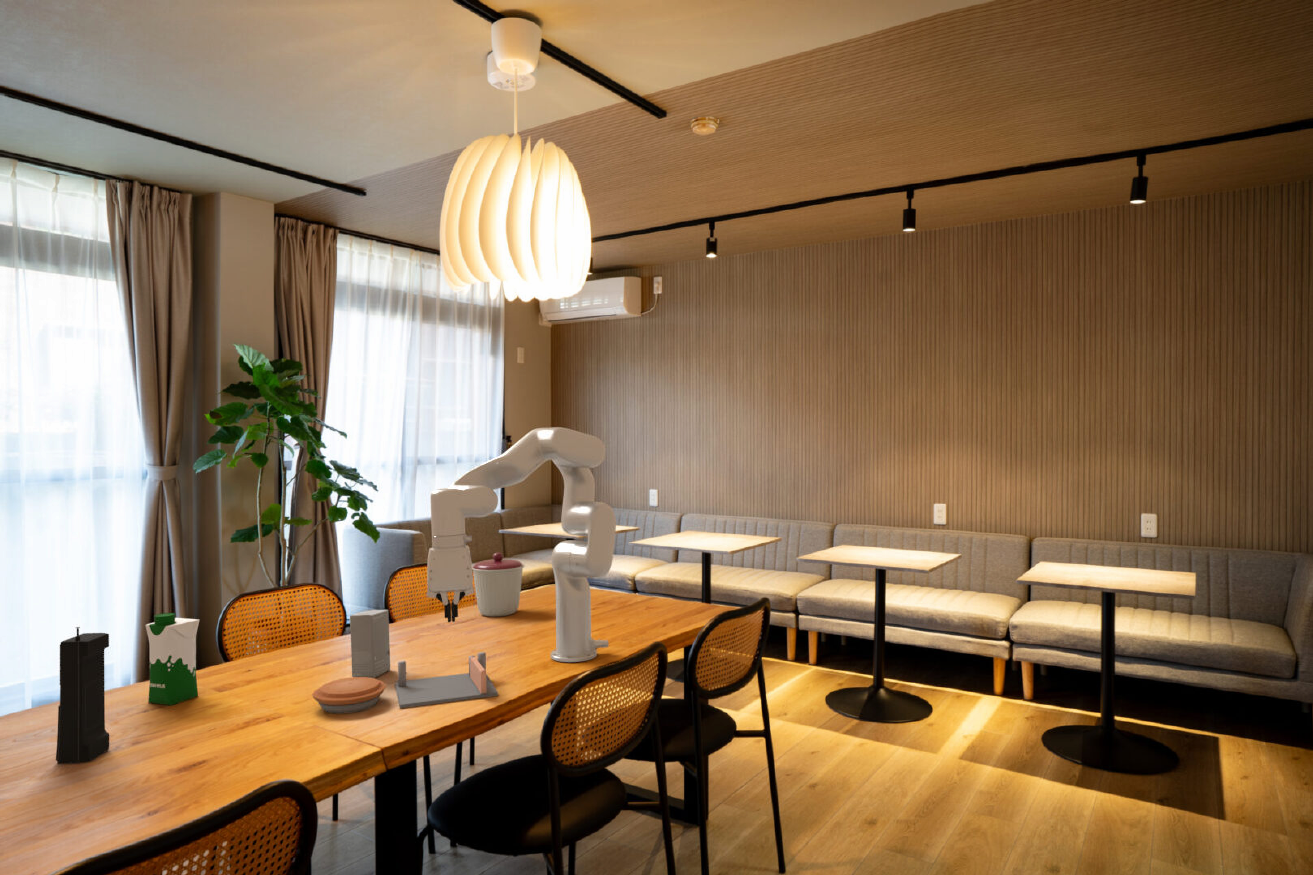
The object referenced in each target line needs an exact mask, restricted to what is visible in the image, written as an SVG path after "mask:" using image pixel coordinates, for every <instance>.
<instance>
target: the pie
mask: <svg viewBox="0 0 1313 875" xmlns="http://www.w3.org/2000/svg"><path fill="white" fill-rule="evenodd" d="M386 689H387V685H386V683H385V682H383V681H382V680H379V679H377V678H370V677H347V678H346V677H345V678H340V679H336V680H333V681H329V682H327V683H324V684H323V685H321V686H320V687H318V688H317V689H315V690H314V691H313V692H312V694H311V695H312V698H313V699H314V700H315V701H316V702H318V705H319V706H320V707H321V709H322V710H323V711H324V712H326V713H330V714H351V713H356V712H361V710H362V711H365V710H367V709H370V708H372V707H374V706H375V705H376V704H377V703H378V701H379V699H380V697H381V695H382V694H383V693H384V691H385V690H386Z"/></svg>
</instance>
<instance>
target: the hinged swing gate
mask: <svg viewBox="0 0 1313 875" xmlns="http://www.w3.org/2000/svg"><path fill="white" fill-rule="evenodd" d="M477 660H478V662H479V663H480V664H481V666H482V667H483V668H484V669H486V670H487V653H486V652H483V651H481V652H478V653H477ZM394 687H395V691H396V698H397V702H398V706H399V709H407V708H415V707H421V706H422V707H423V706H430V705H435V704H445V703H453V702H454V703H455V702H460V701H468V700H475V699H476V698H477V699H484V698H491V697H492V698H493V697H498V696H499V692H498V690H497V688H496V687H495V686H494V683H493V682H492V680H491V679H490V677H489V676H488V674H487V673H486V693H483V694H482V693H480V691H479V690H478V688H477V687H476V685H475V684H474V682H473V681H472V679H471V678H470V677H469V672H468V673H458V674H449V675H442V676H433V677H423V678H415V679H409V680H407V661H406V660H401V661H400V660H399V661H397V681H395V682H394Z"/></svg>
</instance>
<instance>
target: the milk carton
mask: <svg viewBox="0 0 1313 875" xmlns="http://www.w3.org/2000/svg"><path fill="white" fill-rule="evenodd" d="M153 616H154V622H150V623H147V624H145V629H146V635H147V637H148V642H149V688H148V700H147V702H148V703H150V704H159V705H166V706H174V705H175V704H179V703H182V702H185V701H187V700H191V699H194V698H196V697H198V696H199V692H198V690H199V689H198V682H197V643H196V642H197V632H198V628H199V623H200V619H199V618H198V619H196V618H187V617H186V618H185V617H176V613H174V612H167V613H166V612H165V613H159V614H155V615H153Z"/></svg>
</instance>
